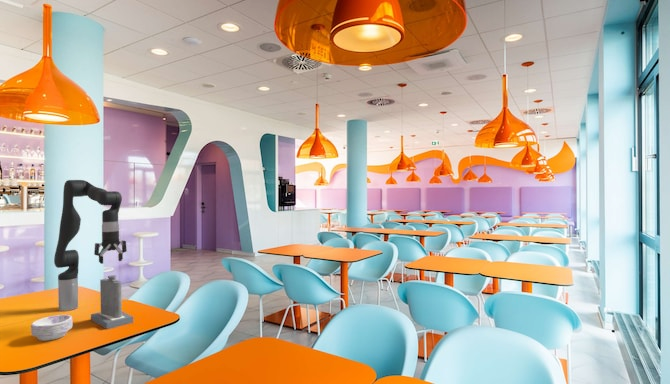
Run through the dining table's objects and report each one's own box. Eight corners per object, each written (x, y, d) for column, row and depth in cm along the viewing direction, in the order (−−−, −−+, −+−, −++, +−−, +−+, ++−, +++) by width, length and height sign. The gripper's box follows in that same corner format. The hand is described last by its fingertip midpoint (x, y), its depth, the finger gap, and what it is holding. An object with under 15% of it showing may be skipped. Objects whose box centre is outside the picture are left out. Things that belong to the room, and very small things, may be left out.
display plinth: (90, 320, 199) (90, 313, 199) (115, 314, 208) (115, 308, 208) (107, 329, 185) (107, 322, 185) (133, 322, 194) (133, 316, 194)
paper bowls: (24, 345, 166) (24, 327, 166) (40, 333, 181) (40, 316, 181) (64, 341, 171) (64, 323, 171) (77, 329, 185) (77, 313, 185)
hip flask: (99, 313, 199) (98, 274, 199) (107, 311, 203) (107, 273, 203) (116, 318, 191) (116, 278, 191) (124, 316, 194) (124, 276, 194)
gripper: (122, 229, 204) (122, 259, 204) (92, 231, 194) (92, 263, 194) (128, 229, 200) (128, 261, 200) (97, 232, 189) (98, 265, 189)
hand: (110, 262), depth 197 cm, fingers open, 8 cm apart
